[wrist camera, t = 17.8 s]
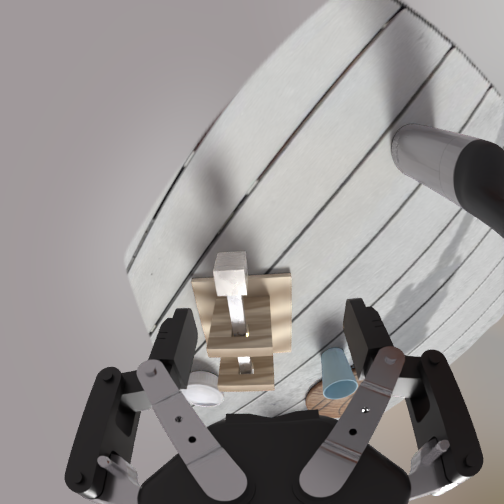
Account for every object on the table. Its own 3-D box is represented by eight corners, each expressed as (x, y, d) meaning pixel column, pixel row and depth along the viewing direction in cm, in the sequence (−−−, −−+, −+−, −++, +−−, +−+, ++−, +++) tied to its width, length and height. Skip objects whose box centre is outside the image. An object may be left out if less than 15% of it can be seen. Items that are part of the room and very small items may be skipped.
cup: (349, 360, 62) (358, 393, 53) (319, 368, 64) (325, 402, 55) (346, 340, 59) (357, 376, 50) (314, 349, 60) (320, 385, 51)
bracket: (192, 278, 52) (175, 330, 39) (290, 272, 51) (299, 326, 38) (210, 351, 61) (202, 401, 49) (290, 348, 60) (296, 399, 48)
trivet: (290, 409, 74) (291, 414, 72) (334, 360, 63) (335, 365, 61) (357, 414, 78) (358, 419, 76) (404, 370, 66) (406, 375, 65)
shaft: (217, 252, 40) (212, 271, 36) (245, 250, 40) (244, 269, 36) (238, 368, 53) (236, 388, 48) (258, 367, 52) (258, 387, 48)
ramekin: (192, 392, 70) (190, 408, 66) (176, 369, 65) (172, 385, 61) (231, 390, 69) (229, 406, 64) (217, 365, 64) (215, 382, 59)
